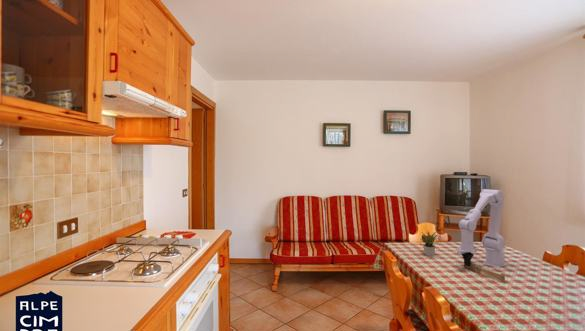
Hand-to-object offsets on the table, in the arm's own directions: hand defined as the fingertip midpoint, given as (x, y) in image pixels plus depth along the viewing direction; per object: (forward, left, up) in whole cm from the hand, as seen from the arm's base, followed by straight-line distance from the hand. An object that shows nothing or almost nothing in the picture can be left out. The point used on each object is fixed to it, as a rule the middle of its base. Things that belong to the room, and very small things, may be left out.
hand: (467, 265), depth 153 cm
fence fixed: (+2, +13, -2) cm, 14 cm away
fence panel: (-1, +2, -2) cm, 2 cm away
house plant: (-2, -25, -2) cm, 26 cm away
